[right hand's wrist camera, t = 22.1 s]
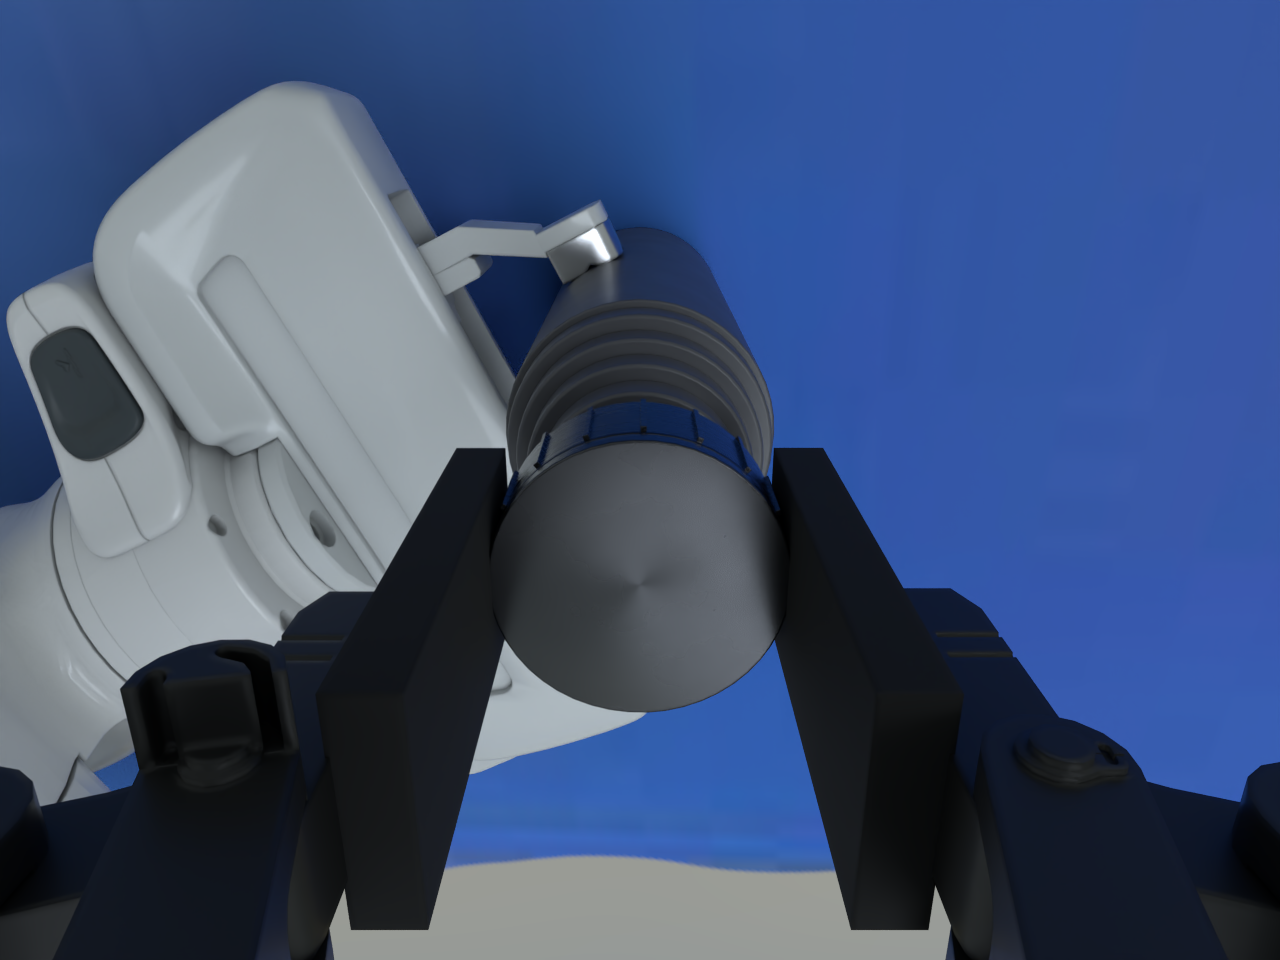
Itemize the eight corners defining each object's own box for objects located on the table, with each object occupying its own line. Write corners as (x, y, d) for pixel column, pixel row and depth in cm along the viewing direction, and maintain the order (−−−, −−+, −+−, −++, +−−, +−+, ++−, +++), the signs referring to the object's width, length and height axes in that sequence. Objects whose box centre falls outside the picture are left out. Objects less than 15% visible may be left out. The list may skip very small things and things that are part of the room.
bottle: (540, 252, 31) (392, 435, 13) (697, 207, 31) (787, 330, 12) (586, 402, 33) (517, 755, 14) (735, 363, 33) (862, 676, 14)
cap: (711, 349, 13) (721, 383, 12) (818, 588, 15) (842, 650, 13) (453, 466, 14) (426, 515, 12) (579, 684, 15) (571, 756, 14)
